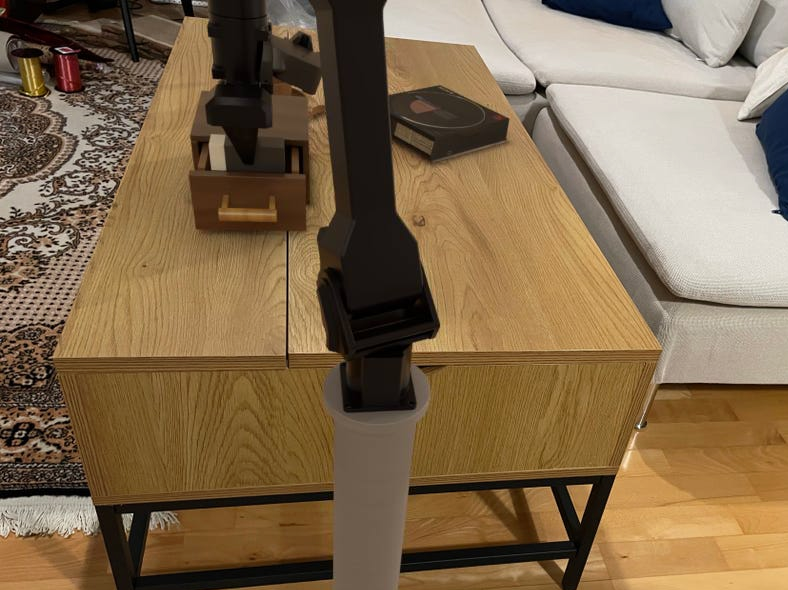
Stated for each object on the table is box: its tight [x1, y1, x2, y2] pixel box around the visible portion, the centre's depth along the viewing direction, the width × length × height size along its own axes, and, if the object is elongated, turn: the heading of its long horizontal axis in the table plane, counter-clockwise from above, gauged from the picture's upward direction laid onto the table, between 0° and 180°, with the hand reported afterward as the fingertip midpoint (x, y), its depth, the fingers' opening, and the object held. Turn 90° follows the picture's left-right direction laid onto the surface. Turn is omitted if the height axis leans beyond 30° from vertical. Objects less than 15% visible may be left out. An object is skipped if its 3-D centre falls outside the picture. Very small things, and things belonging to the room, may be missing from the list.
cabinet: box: [189, 90, 311, 205], centre depth 92 cm, size 15×14×9 cm
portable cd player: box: [389, 84, 510, 164], centre depth 113 cm, size 16×17×4 cm
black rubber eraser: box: [209, 134, 285, 173], centre depth 80 cm, size 3×8×3 cm, turn 102°
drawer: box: [188, 142, 308, 232], centre depth 83 cm, size 18×12×7 cm
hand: (249, 157), depth 81 cm, fingers closed on black rubber eraser, 3 cm apart
